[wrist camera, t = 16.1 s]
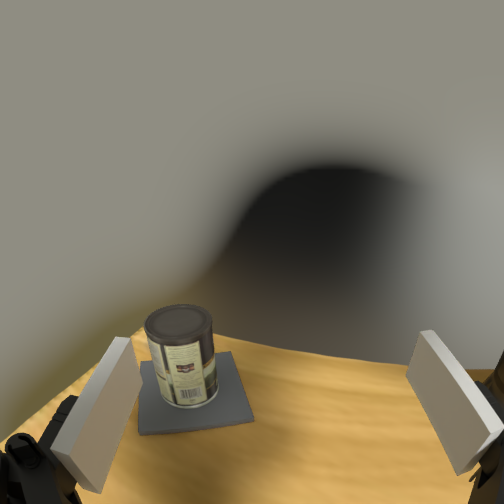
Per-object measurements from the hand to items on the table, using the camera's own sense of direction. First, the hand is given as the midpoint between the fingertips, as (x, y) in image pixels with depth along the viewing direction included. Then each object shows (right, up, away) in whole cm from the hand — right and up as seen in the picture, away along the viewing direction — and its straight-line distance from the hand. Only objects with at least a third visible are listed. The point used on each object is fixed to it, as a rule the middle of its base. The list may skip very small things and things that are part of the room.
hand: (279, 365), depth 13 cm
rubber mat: (-12, -19, +36) cm, 43 cm away
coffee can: (-12, -19, +36) cm, 42 cm away
